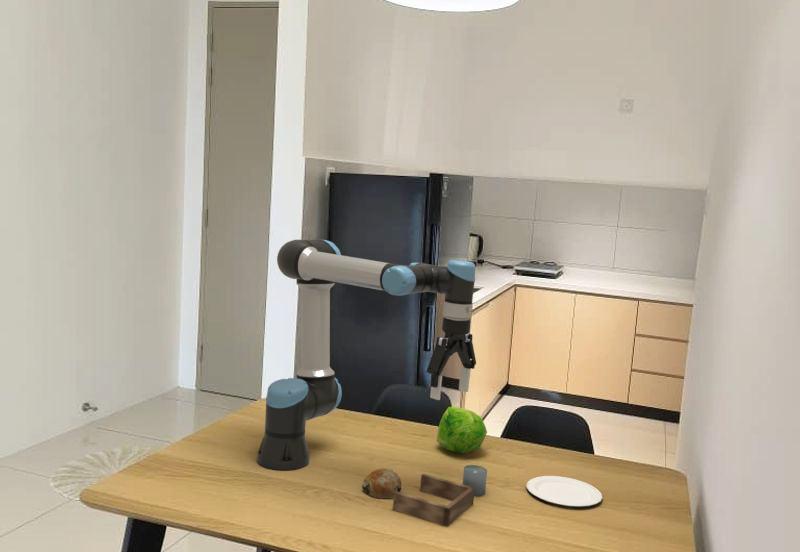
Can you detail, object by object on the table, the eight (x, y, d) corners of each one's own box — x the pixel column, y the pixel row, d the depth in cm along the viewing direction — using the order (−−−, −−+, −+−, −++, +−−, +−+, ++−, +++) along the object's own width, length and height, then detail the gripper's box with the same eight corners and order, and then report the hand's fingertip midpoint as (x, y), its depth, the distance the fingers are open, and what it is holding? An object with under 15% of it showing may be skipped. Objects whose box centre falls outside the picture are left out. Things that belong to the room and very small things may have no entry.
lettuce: (469, 440, 242) (484, 404, 239) (479, 470, 223) (495, 432, 220) (429, 427, 240) (443, 392, 237) (434, 457, 221) (450, 419, 218)
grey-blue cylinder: (458, 492, 196) (460, 469, 195) (467, 485, 201) (469, 463, 201) (479, 498, 193) (481, 475, 192) (488, 491, 198) (490, 468, 198)
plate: (603, 489, 207) (604, 483, 207) (599, 517, 187) (600, 511, 187) (531, 475, 214) (532, 470, 213) (520, 501, 194) (520, 495, 194)
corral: (392, 509, 182) (394, 492, 181) (422, 489, 196) (423, 473, 195) (447, 526, 174) (448, 508, 174) (473, 504, 189) (474, 487, 188)
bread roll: (388, 514, 187) (403, 489, 186) (355, 492, 189) (370, 468, 187) (396, 499, 197) (410, 476, 196) (364, 479, 198) (378, 455, 197)
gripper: (441, 324, 181) (433, 405, 183) (493, 317, 201) (485, 390, 203) (418, 319, 186) (410, 398, 188) (470, 312, 205) (463, 384, 207)
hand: (449, 394), depth 195 cm, fingers open, 13 cm apart
